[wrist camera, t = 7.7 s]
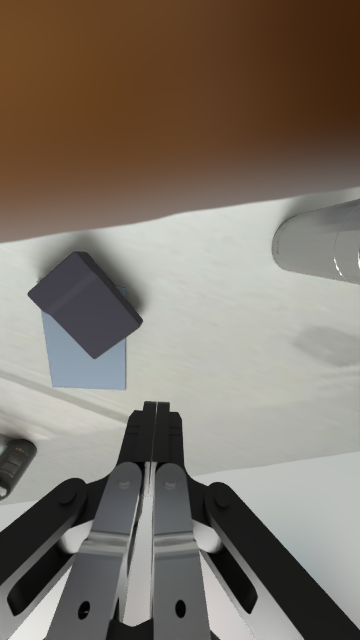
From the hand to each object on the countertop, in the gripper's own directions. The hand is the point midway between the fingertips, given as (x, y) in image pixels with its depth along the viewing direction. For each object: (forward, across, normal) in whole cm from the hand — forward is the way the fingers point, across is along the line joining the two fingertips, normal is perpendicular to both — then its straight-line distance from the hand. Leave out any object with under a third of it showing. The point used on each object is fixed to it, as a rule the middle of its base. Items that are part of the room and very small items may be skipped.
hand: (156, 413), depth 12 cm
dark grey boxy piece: (+24, +8, +7) cm, 26 cm away
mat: (+27, +15, +9) cm, 32 cm away
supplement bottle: (+27, +32, +39) cm, 57 cm away
